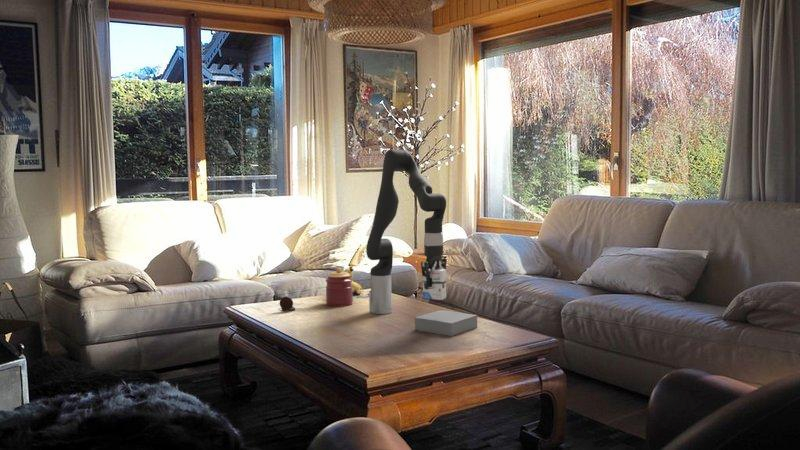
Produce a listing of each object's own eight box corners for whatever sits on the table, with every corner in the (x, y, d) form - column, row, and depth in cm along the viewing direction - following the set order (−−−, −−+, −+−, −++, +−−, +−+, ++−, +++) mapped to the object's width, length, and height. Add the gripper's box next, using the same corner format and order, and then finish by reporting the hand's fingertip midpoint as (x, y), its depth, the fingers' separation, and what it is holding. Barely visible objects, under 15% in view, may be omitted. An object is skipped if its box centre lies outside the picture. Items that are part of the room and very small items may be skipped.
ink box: (422, 298, 278) (421, 269, 278) (426, 296, 283) (426, 267, 282) (442, 300, 275) (441, 270, 274) (446, 297, 279) (446, 268, 279)
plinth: (415, 329, 280) (414, 317, 280) (441, 321, 294) (440, 309, 294) (452, 336, 269) (451, 323, 269) (477, 327, 283) (477, 315, 282)
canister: (351, 306, 329) (351, 269, 327) (324, 307, 329) (323, 270, 327) (354, 301, 342) (353, 265, 340) (327, 301, 342) (326, 266, 340)
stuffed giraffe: (334, 294, 363) (335, 264, 361) (367, 292, 369) (368, 263, 367) (342, 300, 348) (343, 269, 346) (377, 299, 354) (377, 268, 352)
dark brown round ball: (296, 308, 326) (296, 293, 325) (292, 312, 318) (292, 296, 317) (279, 309, 326) (279, 293, 326) (275, 312, 319) (274, 296, 318)
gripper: (437, 241, 285) (437, 282, 286) (414, 245, 274) (415, 287, 276) (452, 242, 280) (452, 284, 282) (429, 246, 269) (430, 289, 271)
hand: (434, 285), depth 279 cm, fingers closed on ink box, 5 cm apart
